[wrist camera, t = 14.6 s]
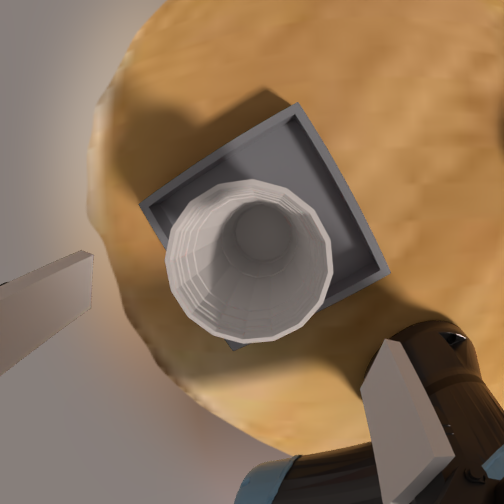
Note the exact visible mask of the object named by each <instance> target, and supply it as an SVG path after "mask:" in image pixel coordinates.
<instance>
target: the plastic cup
mask: <svg viewBox="0 0 504 504" xmlns="http://www.w3.org/2000/svg"><path fill="white" fill-rule="evenodd" d="M165 264H166V269H167V274H168V279H169V284H170V289H171V292H172V293H173V295H174V296H175V298H176V300H177V301H178V303H179V304H180V306H181V307H182V309H183V310H184V312H185V313H186V315H187V316H188V317H189V318H190V319H191V320H193V321H194V322H195V323H197V324H198V325H199V326H201V327H202V328H204V329H205V330H206V331H208V332H209V333H211V334H212V335H214V336H217V337H221V338H224V339H228V340H231V341H235V342H239V343H243V344H245V343H257V342H267V341H275V340H277V339H279V338H281V337H283V336H285V335H287V334H289V333H291V332H293V331H295V330H297V329H299V328H301V327H303V325H304V324H305V323H306V322H307V321H308V320H309V319H310V318H311V317H312V315H313V314H314V313H315V312H316V311H317V310H318V309H319V307H320V306H321V305H322V304H323V302H324V299H325V296H326V293H327V291H328V288H329V285H330V282H331V279H332V276H333V262H332V250H331V240H330V238H329V236H328V234H327V232H326V230H325V228H324V227H323V225H322V223H321V221H320V219H319V217H318V216H317V214H316V212H315V210H314V209H313V208H312V207H310V206H309V205H308V204H306V203H305V202H304V201H303V200H301V199H300V198H299V197H298V196H296V195H295V194H294V193H292V192H291V191H290V190H289V189H287V188H285V187H281V186H277V185H274V184H270V183H266V182H262V181H259V180H255V179H249V180H242V181H235V182H228V183H222V184H218V185H216V186H214V187H213V188H211V189H209V190H208V191H206V192H205V193H203V194H201V195H200V196H198V197H197V198H195V199H193V200H192V201H190V202H189V203H188V205H187V206H186V208H185V209H184V211H183V212H182V213H181V215H180V216H179V218H178V219H177V221H176V222H175V224H174V225H173V227H172V228H171V231H170V236H169V241H168V246H167V251H166V256H165Z"/></svg>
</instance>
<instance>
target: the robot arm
mask: <svg viewBox="0 0 504 504" xmlns="http://www.w3.org/2000/svg"><path fill="white" fill-rule="evenodd" d="M93 258H94V255H93V254H90V253H87V252H85V251H82V250H81V251H78V252H76V253H73V254H71V255H69V256H66V257H64V258H62V259H60V260H57V261H55V262H53V263H50V264H48V265H46V266H43V267H41V268H39V269H37V270H34V271H32V272H30V273H28V274H26V275H23V276H21V277H19V278H17V279H15V280H12V281H10V282H6V283H3V284H1V285H0V376H1V375H2V374H4V373H5V372H6V371H8V370H9V369H10V368H11V367H13V366H14V365H15V364H17V363H18V362H19V361H20V360H22V359H23V358H24V357H26V356H27V355H28V354H30V353H31V352H32V351H33V350H35V349H36V348H37V347H38V346H40V345H41V344H43V343H44V342H45V341H47V340H48V339H49V338H51V337H52V336H53V335H55V334H56V333H58V332H59V331H60V330H61V329H63V328H64V327H66V326H67V325H68V324H70V323H71V322H72V321H74V320H75V319H77V318H78V317H79V316H81V315H82V314H84V313H85V312H86V311H88V310H89V309H90V308H91V294H92V274H93ZM360 391H361V396H362V400H363V404H364V409H365V413H366V417H367V422H368V427H369V431H370V436H371V442H367V443H363V444H359V445H354V446H350V447H346V448H341V449H336V450H331V451H326V452H321V453H315V454H310V455H295V456H293V457H292V458H287V459H282V460H276V461H269V462H264V463H262V464H259V465H257V466H256V467H255V468H253V469H252V470H251V471H250V472H249V473H248V474H247V475H246V477H245V478H244V480H243V482H242V484H241V486H240V489H239V491H238V493H237V495H236V498H235V502H234V504H504V410H503V409H502V407H501V406H500V404H499V403H498V402H497V400H496V399H495V397H494V396H493V394H492V393H491V392H490V390H489V389H488V388H487V386H486V385H485V383H484V382H483V380H482V378H481V373H480V368H479V364H478V359H477V355H476V351H475V348H474V346H473V344H472V342H471V341H470V339H469V338H468V337H467V336H466V334H465V333H464V332H463V331H462V330H461V329H460V328H459V327H457V326H456V325H454V324H452V323H449V322H445V321H427V322H422V323H419V324H416V325H413V326H410V327H408V328H406V329H404V330H402V331H401V332H399V333H398V334H396V335H395V336H393V337H392V338H391V339H389V340H388V339H385V340H384V342H383V344H382V346H381V348H380V349H379V350H378V351H377V353H376V354H375V355H374V357H373V358H372V360H371V362H370V363H369V365H368V368H367V370H366V373H365V377H364V382H363V384H362V386H361V388H360Z"/></svg>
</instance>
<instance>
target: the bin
mask: <svg viewBox="0 0 504 504" xmlns="http://www.w3.org/2000/svg"><path fill="white" fill-rule="evenodd" d="M249 179H255V180H259V181H262V182H266V183H270V184H274V185H277V186H281V187H285V188H287V189H289V190H290V191H291V192H292V193H294V194H295V195H296V196H298V197H299V198H300V199H301V200H303V201H304V202H305V203H306V204H308V205H309V206H310V207H312V208H313V209H314V210H315V212H316V214H317V216H318V217H319V219H320V221H321V223H322V225H323V227H324V228H325V230H326V232H327V234H328V236H329V238H330V240H331V250H332V262H333V276H332V279H331V282H330V285H329V288H328V291H327V293H326V296H325V299H324V302H323V304H322V305H321V306H320V307H319V309H318V310H317V311H316V312H315V313H317V312H319V311H321V310H323V309H325V308H327V307H329V306H331V305H333V304H334V303H336V302H338V301H340V300H342V299H344V298H346V297H348V296H350V295H352V294H354V293H356V292H357V291H359V290H361V289H363V288H365V287H367V286H369V285H370V284H372V283H374V282H376V281H378V280H380V279H381V278H383V277H385V276H387V275H389V274H390V273H391V272H390V270H389V267H388V265H387V263H386V261H385V259H384V256H383V254H382V252H381V250H380V248H379V246H378V244H377V241H376V239H375V237H374V235H373V233H372V231H371V229H370V227H369V225H368V223H367V221H366V219H365V217H364V215H363V213H362V211H361V209H360V207H359V205H358V203H357V201H356V200H355V198H354V196H353V194H352V192H351V190H350V188H349V186H348V185H347V183H346V181H345V179H344V177H343V176H342V174H341V172H340V170H339V168H338V167H337V165H336V163H335V161H334V160H333V158H332V156H331V154H330V153H329V151H328V149H327V148H326V146H325V144H324V143H323V141H322V139H321V138H320V136H319V134H318V133H317V131H316V129H315V128H314V126H313V125H312V123H311V121H310V120H309V118H308V117H307V115H306V113H305V112H304V110H303V109H302V107H301V106H300V104H299V103H298V102H297V103H295V104H293V105H291V106H290V107H288V108H286V109H284V110H282V111H281V112H279V113H277V114H275V115H274V116H272V117H270V118H268V119H267V120H265V121H263V122H262V123H260V124H258V125H256V126H255V127H253V128H251V129H250V130H248V131H246V132H245V133H243V134H241V135H240V136H238V137H237V138H235V139H233V140H232V141H230V142H229V143H227V144H225V145H224V146H222V147H221V148H219V149H217V150H216V151H214V152H213V153H211V154H210V155H208V156H207V157H205V158H204V159H202V160H201V161H199V162H198V163H196V164H195V165H193V166H192V167H190V168H189V169H187V170H186V171H184V172H183V173H181V174H180V175H178V176H177V177H175V178H174V179H173V180H171V181H170V182H168V183H167V184H166V185H164V186H163V187H161V188H160V189H159V190H157V191H156V192H154V193H153V194H152V195H150V196H149V197H148V198H146V199H145V200H143V201H142V202H141V203H139V206H140V208H141V209H142V211H143V213H144V215H145V216H146V218H147V220H148V221H149V223H150V225H151V226H152V228H153V230H154V231H155V233H156V235H157V236H158V238H159V240H160V241H161V243H162V245H163V246H164V248H165V249H166V251H167V246H168V241H169V236H170V231H171V228H172V227H173V225H174V224H175V222H176V221H177V219H178V218H179V216H180V215H181V213H182V212H183V211H184V209H185V208H186V206H187V205H188V203H189V202H190V201H192V200H193V199H195V198H197V197H198V196H200V195H201V194H203V193H205V192H206V191H208V190H209V189H211V188H213V187H214V186H216V185H218V184H222V183H228V182H235V181H242V180H249ZM315 313H314V314H315ZM225 341H226V342H227V344H228V345H229V346H230V348H231V349H232V351H235V350H237V349H239V348H242V347H244V346H246V345H248V344H251V343H245V344H243V343H239V342H235V341H231V340H228V339H225Z"/></svg>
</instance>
